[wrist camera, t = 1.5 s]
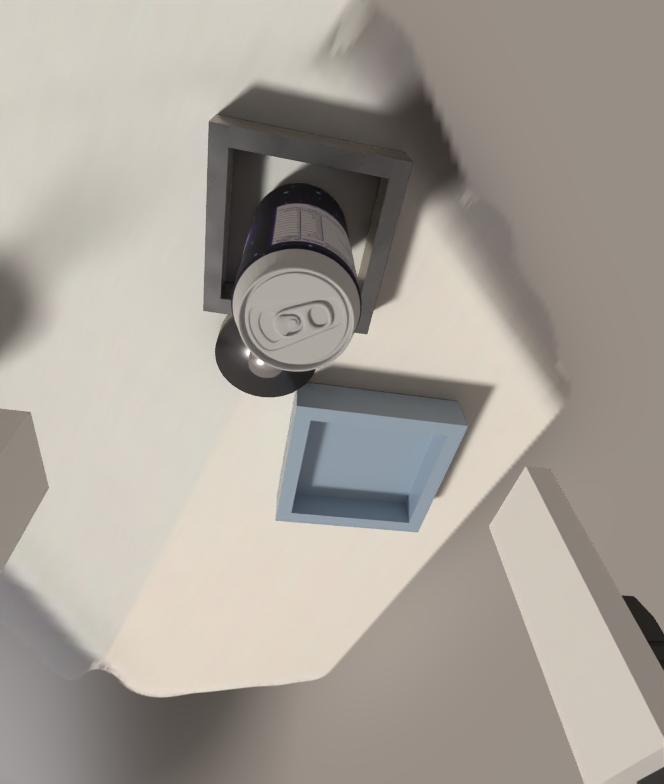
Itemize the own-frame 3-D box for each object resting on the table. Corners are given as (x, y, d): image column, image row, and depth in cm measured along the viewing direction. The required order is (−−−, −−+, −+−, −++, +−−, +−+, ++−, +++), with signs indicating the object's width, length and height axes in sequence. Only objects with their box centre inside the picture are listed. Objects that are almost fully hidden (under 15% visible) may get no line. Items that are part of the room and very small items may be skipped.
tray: (297, 381, 36) (296, 405, 34) (458, 401, 38) (468, 426, 36) (277, 493, 44) (275, 520, 41) (412, 506, 46) (417, 532, 43)
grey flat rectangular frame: (216, 114, 25) (208, 121, 23) (404, 152, 27) (413, 162, 25) (206, 375, 35) (200, 396, 33) (344, 392, 37) (346, 413, 35)
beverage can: (239, 193, 28) (204, 278, 18) (333, 167, 27) (348, 241, 18) (270, 281, 31) (254, 391, 22) (354, 259, 31) (376, 363, 21)
